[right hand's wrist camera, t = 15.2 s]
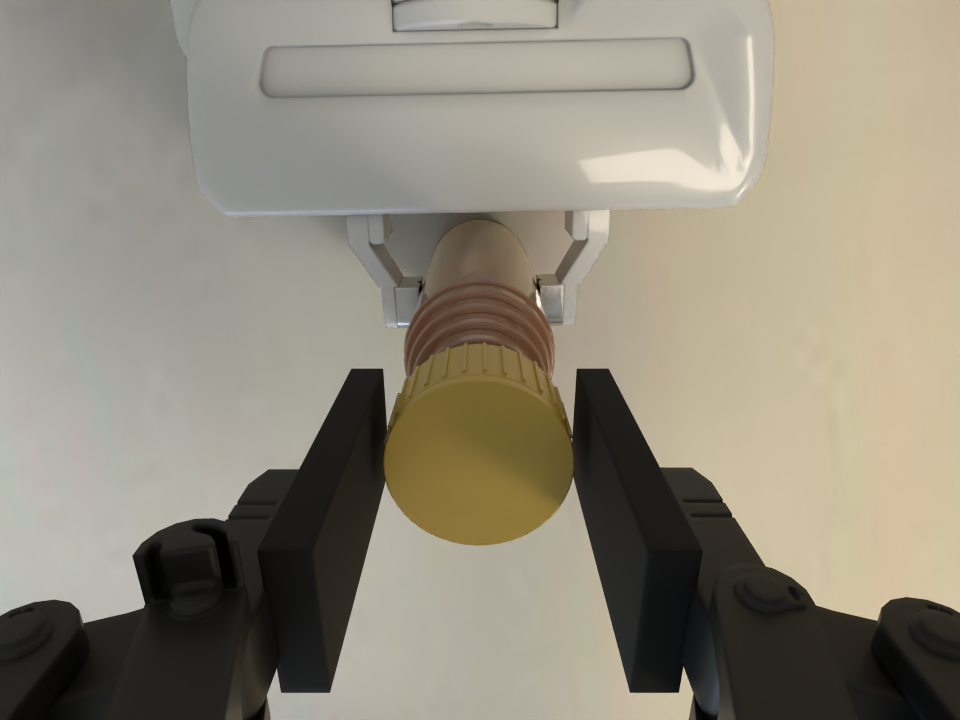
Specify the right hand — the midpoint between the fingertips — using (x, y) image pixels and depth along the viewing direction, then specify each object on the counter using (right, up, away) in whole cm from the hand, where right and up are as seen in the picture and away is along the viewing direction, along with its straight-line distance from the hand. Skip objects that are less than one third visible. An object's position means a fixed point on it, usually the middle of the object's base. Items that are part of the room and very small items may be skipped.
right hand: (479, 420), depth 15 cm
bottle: (0, +6, +15) cm, 17 cm away
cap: (0, -1, -2) cm, 2 cm away
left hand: (0, +3, +10) cm, 10 cm away
